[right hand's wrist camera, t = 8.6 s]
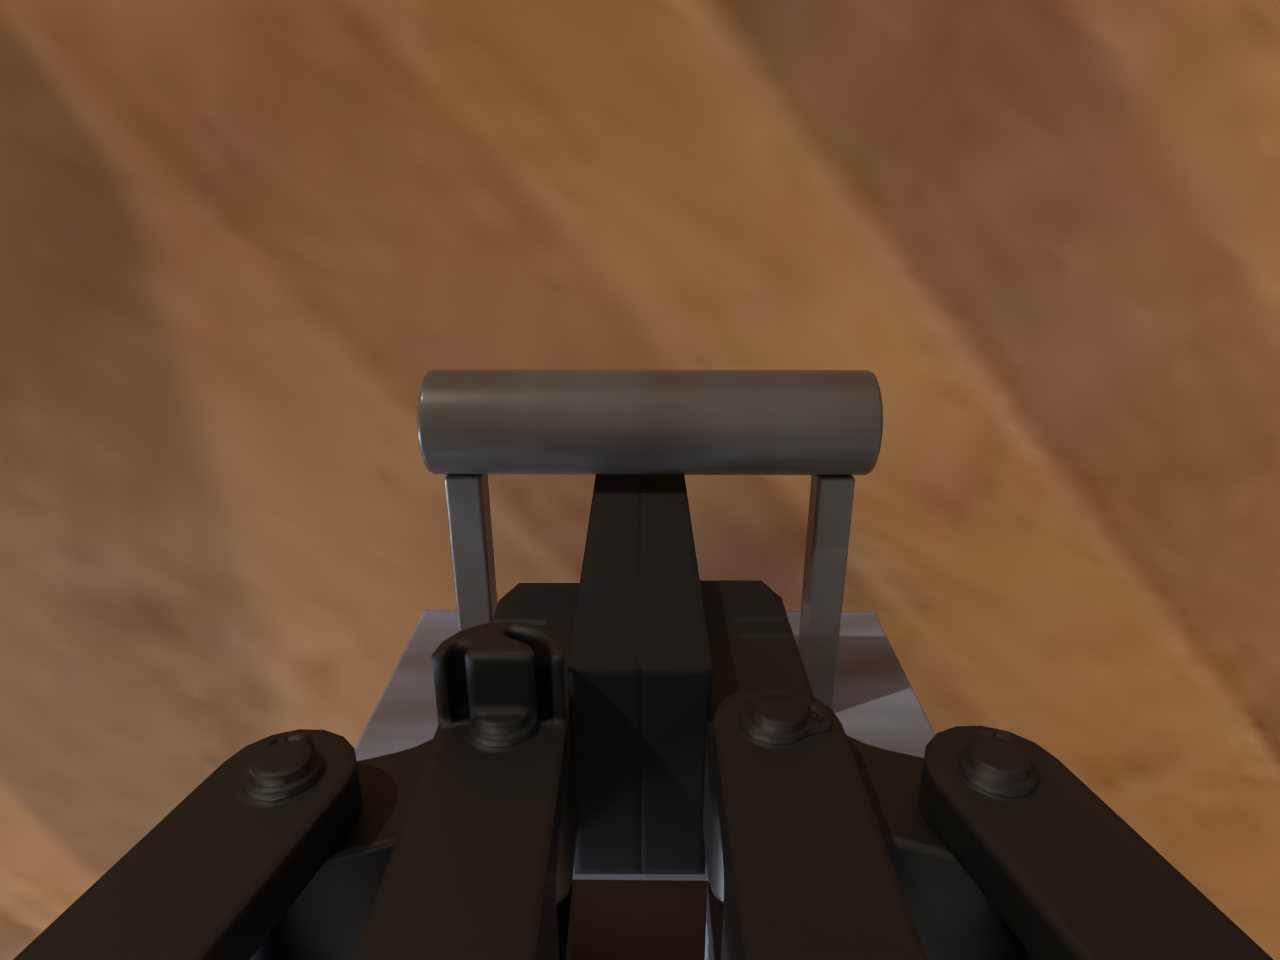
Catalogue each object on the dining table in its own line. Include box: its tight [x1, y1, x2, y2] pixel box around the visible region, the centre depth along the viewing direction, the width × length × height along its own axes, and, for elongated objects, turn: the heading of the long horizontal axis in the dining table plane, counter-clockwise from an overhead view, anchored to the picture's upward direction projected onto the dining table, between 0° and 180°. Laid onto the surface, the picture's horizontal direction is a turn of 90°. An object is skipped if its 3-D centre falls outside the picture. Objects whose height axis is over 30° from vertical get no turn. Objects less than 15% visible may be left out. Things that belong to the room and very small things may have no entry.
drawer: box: [355, 370, 935, 960], centre depth 18 cm, size 26×10×6 cm, turn 0°
